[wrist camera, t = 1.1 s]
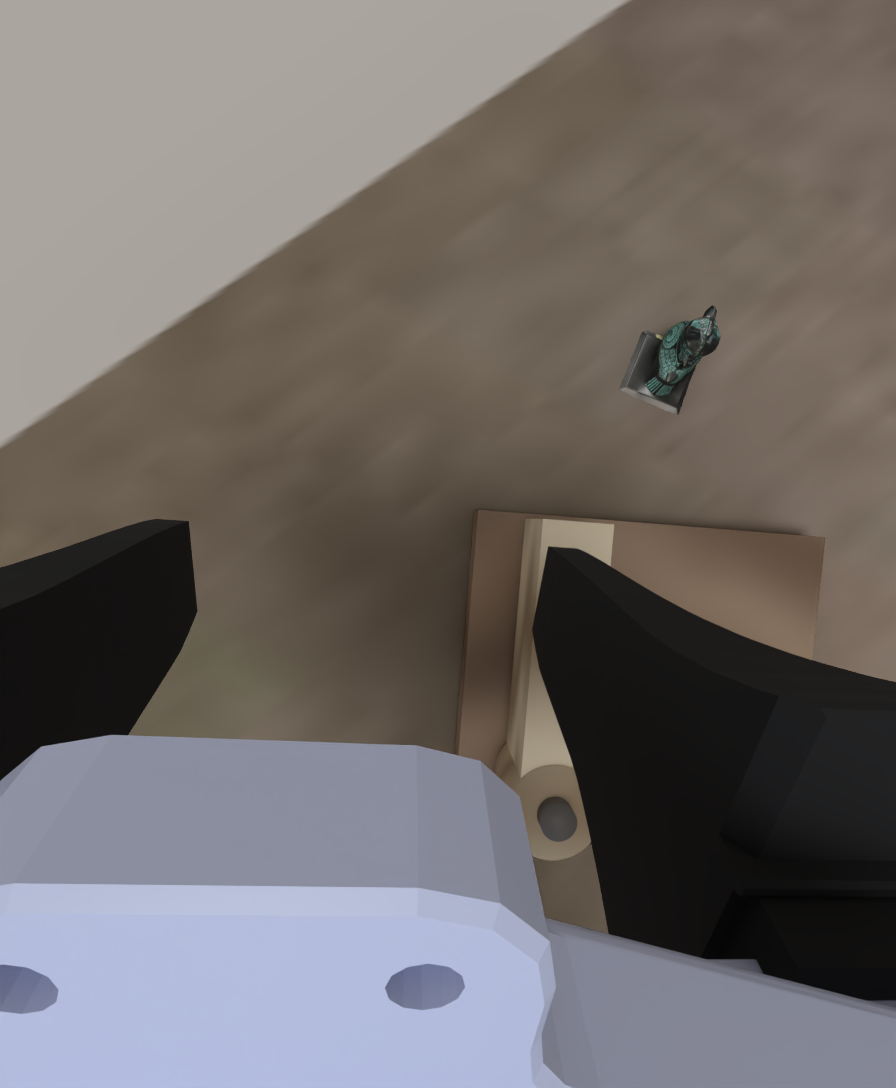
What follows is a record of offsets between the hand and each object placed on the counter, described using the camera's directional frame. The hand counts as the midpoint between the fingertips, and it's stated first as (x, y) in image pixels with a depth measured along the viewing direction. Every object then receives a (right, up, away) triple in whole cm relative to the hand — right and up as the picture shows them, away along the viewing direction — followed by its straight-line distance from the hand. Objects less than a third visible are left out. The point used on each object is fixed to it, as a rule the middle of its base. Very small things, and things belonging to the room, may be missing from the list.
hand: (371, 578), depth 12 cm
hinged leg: (+5, -4, +10) cm, 12 cm away
